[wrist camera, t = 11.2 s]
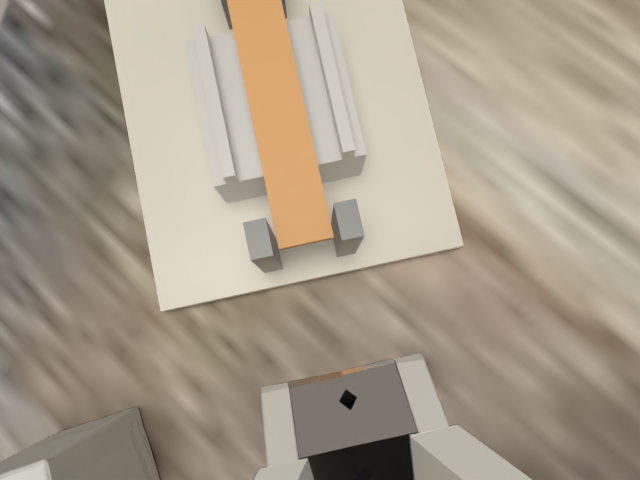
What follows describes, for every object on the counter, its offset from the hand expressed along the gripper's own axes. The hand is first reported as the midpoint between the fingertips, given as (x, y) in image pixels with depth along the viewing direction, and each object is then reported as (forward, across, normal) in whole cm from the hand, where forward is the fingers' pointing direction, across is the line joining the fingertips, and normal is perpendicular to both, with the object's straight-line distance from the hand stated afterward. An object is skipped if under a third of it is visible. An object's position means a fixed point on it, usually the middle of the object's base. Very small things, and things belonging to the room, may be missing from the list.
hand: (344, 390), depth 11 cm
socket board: (+31, 0, +10) cm, 33 cm away
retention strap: (+25, 0, +5) cm, 26 cm away
